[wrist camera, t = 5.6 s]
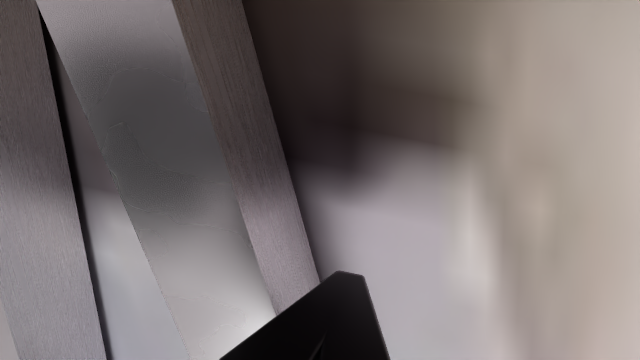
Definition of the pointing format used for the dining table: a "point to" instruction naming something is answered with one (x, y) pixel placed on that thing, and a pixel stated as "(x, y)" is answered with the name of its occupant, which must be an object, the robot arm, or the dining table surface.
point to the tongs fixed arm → (38, 209)
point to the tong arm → (191, 157)
